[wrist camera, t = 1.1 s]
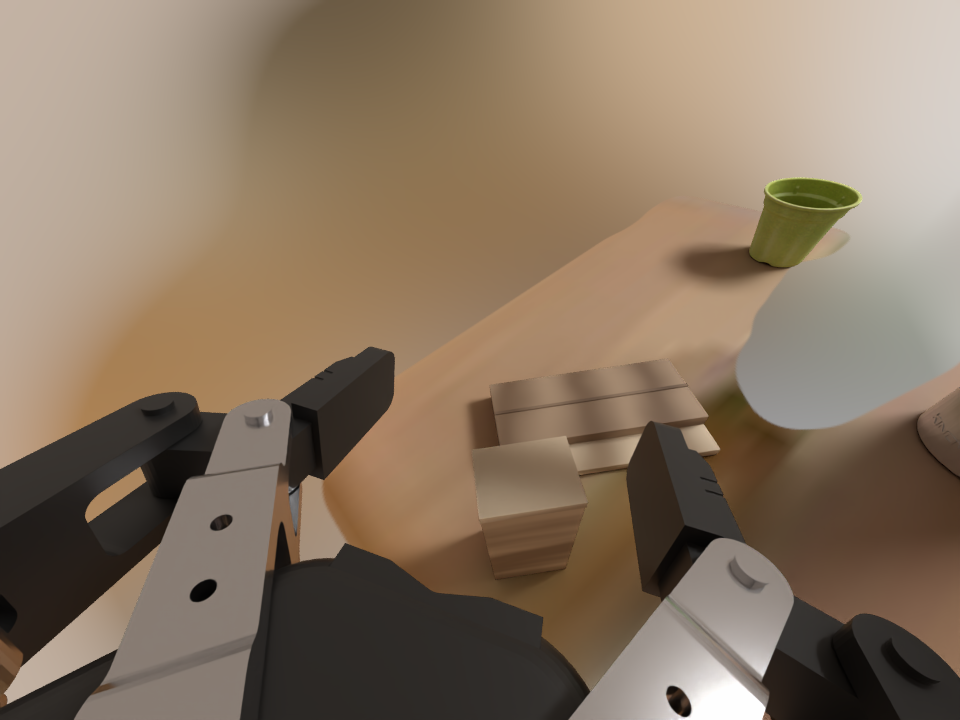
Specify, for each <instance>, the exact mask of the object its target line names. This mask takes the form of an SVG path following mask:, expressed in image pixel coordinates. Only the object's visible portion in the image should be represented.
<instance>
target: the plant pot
mask: <svg viewBox="0 0 960 720" xmlns="http://www.w3.org/2000/svg"><path fill="white" fill-rule="evenodd" d="M764 193H765V195H766V196H765V199H764V208H763V211H762V214H761V217H760V220H759V223H758V226H757V229H756V232H755V235H754V238H753V241H752V244H751V247H750V249H749V253H750V255H751V257H752V258H754V259H755V260H757V261H759V262H766V263H769V264H770V265H771V266H775V267H792V266H795V265H798V264H799V263H800V262H802V261H803V260H804V258H805V257H806V256H807V255H808V254H809V253H810V251H811V250H812V249H813V248H814V247H815V246H816V244H817V243H818V242H819V241H820V240H821V239H822V238H823V236H824V235H825V234H826V233H827V232H828V231H829V230H830V228H831V227H832V226H833V225H834V224H835V223H836V222H837V221H838V219H840V218H842V217H843V216H844V215H845V214H846V213H847V212H848V211H849V210H850V209H852V208H854V207H856V206H858V205H859V204H860V203H861V201H862V196H861V194H860V193H859V192H858V191H857V190H855V189H853V188H852V187H849V186H847V185H844V184H841V183H837V182H833V181H828V180H823V179H814V178H786V179H779V180H776V181H773V182H770V183H769V184H767V185H766V187H765V189H764Z"/></svg>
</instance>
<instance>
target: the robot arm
mask: <svg viewBox="0 0 960 720" xmlns="http://www.w3.org/2000/svg"><path fill="white" fill-rule="evenodd" d="M394 365H395V357H394V354H393V353H392V352H390V351H386V350H382V349H378V348H374V347H368V348H367V349H365V350H364V351H363V352H361V353H360V354H358V355H357V356H355V357H349V358H346V359H343V360H341V361H337V362H335V363H334V364H332V365H331V366H329V367H328V368H326V369H325V370H324V372H323V371H322V372H321V373H319V374H318V375H316V376H315V378H312V379H310V380H309V381H308V382H306V383H305V384H303V385H302V386H300V387H299V388H297V389H296V390H294V391H293V392H291V393H290V394H288V395H287V396H285V397H284V398H283V399H281V400H275V399H260V400H254V401H250V402H247V403H244V404H242V405H240V406H237V407H236V408H234V409H233V410H231V411H230V412H229V413H228V414H227V413H209V412H200V411H199V408H198V404H197V401H196V399H195V398H194V396H192V395H190V394H187V393H181V392H169V393H161V394H156V395H152V396H149V397H145V398H142V399H140V400H138V401H135V402H133V403H131V404H129V405H127V406H125V407H123V408H121V409H119V410H117V411H115V412H113V413H111V414H109V415H107V416H105V417H103V418H101V419H99V420H97V421H95V422H93V423H91V424H90V425H87V426H85V427H83V428H81V429H79V430H77V431H76V432H73V433H71V434H69V435H67V436H65V437H63V438H61V439H59V440H57V441H55V442H53V443H51V444H49V445H47V446H45V447H44V448H41V449H39V450H37V451H35V452H34V453H31V454H30V455H27V456H25V457H23V458H21V459H20V460H18V461H16V462H14V463H12V464H10V465H8V466H6V467H4V468H2V469H0V720H761V719H762V716H763V714H764V711H765V712H766V713H768V714H769V715H770V717H771V720H960V678H959V677H958V675H957V674H956V673H955V672H954V671H953V670H952V669H951V668H950V666H949V665H948V664H947V663H946V662H945V661H944V660H943V659H942V658H941V657H940V656H939V655H937V654H936V653H935V652H934V651H933V650H932V649H931V648H929V647H928V646H927V645H926V644H924V643H923V642H922V641H921V640H919V639H918V638H917V637H915V636H914V635H912V634H911V633H909V632H908V631H906V630H905V629H903V628H901V627H900V626H898V625H896V624H894V623H892V622H890V621H888V620H886V619H884V618H881V617H878V616H875V615H871V614H859V615H856V616H855V617H854V618H852V619H851V620H850V621H849V622H848V623H846V624H843V623H841V622H839V621H838V620H836V619H834V618H832V617H831V616H829V615H827V614H825V613H823V612H822V611H820V610H818V609H816V608H814V607H813V606H811V605H809V604H807V603H806V602H804V601H802V600H800V599H799V598H797V597H795V596H794V595H793V593H792V590H791V588H790V586H789V584H788V582H787V580H786V579H785V577H784V576H783V575H782V573H781V572H780V571H779V570H778V569H777V568H776V567H775V566H774V564H772V563H771V562H770V561H769V560H768V559H767V558H766V557H764V556H763V555H762V554H761V553H759V552H758V551H756V550H755V549H753V548H751V547H749V546H748V545H746V543H745V541H744V538H743V536H742V534H741V532H740V530H739V528H738V525H737V523H736V521H735V519H734V517H733V515H732V512H731V510H730V508H729V506H728V504H727V501H726V499H725V498H723V493H722V491H721V488H720V486H719V485H718V484H717V480H716V477H715V475H714V473H713V471H712V469H711V467H710V465H709V464H708V463H707V462H706V461H705V460H704V459H703V458H702V457H701V455H700V454H699V453H698V452H697V451H695V450H691V449H688V446H687V444H686V441H685V439H684V436H683V434H682V431H681V430H680V429H679V428H677V427H673V426H669V425H666V424H662V423H658V422H654V421H650V422H648V424H647V425H646V427H645V429H644V431H643V433H642V435H641V437H640V440H639V442H638V444H637V446H636V448H635V450H634V453H633V455H632V457H631V459H630V462H629V465H628V469H627V477H626V480H627V488H628V495H629V502H630V509H631V516H632V522H633V529H634V536H635V543H636V550H637V557H638V564H639V571H640V578H641V584H642V591H643V592H646V593H649V594H652V595H655V596H658V597H661V601H662V603H661V604H660V605H659V606H658V608H657V609H656V610H655V611H654V613H653V614H652V615H651V617H650V618H649V619H648V620H647V622H646V623H645V624H644V625H643V627H642V628H641V629H640V630H639V632H638V633H637V634H636V635H635V637H634V638H633V639H632V640H631V642H630V643H629V644H628V645H627V647H626V648H625V649H624V651H623V652H622V653H621V654H620V656H619V657H618V658H617V659H616V661H615V662H614V663H613V664H612V666H611V667H610V668H609V669H608V671H607V672H606V673H605V674H604V676H603V677H602V678H601V679H600V681H599V682H598V683H597V685H596V686H595V687H594V688H593V690H592V691H591V692H590V690H589V689H588V687H587V685H586V684H585V682H584V681H583V679H582V678H581V677H580V675H579V674H578V673H577V671H576V670H575V669H574V667H573V666H572V665H571V664H570V663H569V662H568V660H567V659H566V658H565V657H564V656H563V655H562V654H561V653H560V652H559V651H558V650H557V649H556V648H555V647H554V646H552V645H551V644H550V643H549V642H548V641H546V640H545V639H544V638H542V637H541V635H542V624H543V617H541V616H538V615H535V614H533V613H530V612H527V611H525V610H522V609H519V608H517V607H514V606H511V605H509V604H506V603H503V602H501V601H498V600H495V599H493V598H488V597H477V596H465V595H453V594H441V593H435V592H433V591H431V590H429V589H428V588H427V587H425V586H424V585H423V584H421V583H420V582H419V581H417V580H416V579H415V578H413V577H412V576H411V575H409V574H408V573H407V572H405V571H404V570H403V569H401V568H400V567H399V566H397V565H396V564H395V563H393V562H392V561H391V560H389V559H386V558H383V557H381V556H378V555H375V554H373V553H370V552H367V551H365V550H362V549H359V548H357V547H354V546H351V545H349V544H346V543H345V544H344V546H343V547H342V549H341V550H340V552H339V553H338V554H337V556H336V557H335V558H323V559H312V560H306V561H301V562H300V555H299V543H300V524H301V504H302V502H301V501H302V483H301V482H302V481H303V480H304V479H305V478H306V477H307V476H308V475H311V476H314V477H317V478H320V479H323V480H325V478H326V477H327V476H328V475H329V474H330V473H331V472H332V471H333V470H334V469H335V467H336V466H337V465H338V464H339V463H340V462H341V461H342V460H343V459H344V457H345V456H346V455H347V454H348V453H349V452H350V451H351V450H352V449H353V447H354V446H355V445H356V444H357V443H358V442H359V441H360V440H361V439H362V438H363V436H364V435H365V434H366V433H367V432H368V431H369V430H370V429H371V428H372V426H373V425H374V424H375V423H376V422H377V421H378V420H379V419H380V418H381V416H382V415H383V414H384V413H385V412H386V411H387V410H388V408H389V406H390V404H391V402H392V399H393V395H394ZM917 430H918V433H919V435H920V438H921V440H922V441H923V443H924V444H925V446H926V447H927V449H928V450H929V451H930V452H931V453H932V454H933V455H934V456H935V457H936V458H937V459H938V461H940V462H941V463H942V464H943V465H944V466H946V467H947V468H948V469H949V470H950V471H952V472H953V473H954V474H956V475H957V476H959V477H960V387H959V388H958V389H956V390H955V391H953V392H952V393H951V394H949V395H948V396H946V397H945V398H943V399H942V400H941V401H939V402H938V403H936V404H935V405H934V406H932V407H931V408H929V409H928V410H926V411H925V412H924V413H923V414H921V415H920V417H919V419H918V421H917ZM139 467H141V469H142V471H143V474H144V476H145V478H146V481H147V482H145V483H144V484H142V485H141V486H140V487H138V488H137V489H135V490H134V491H132V492H131V493H130V494H128V495H127V496H125V497H124V498H123V499H121V500H120V501H118V502H117V503H116V504H114V505H113V506H111V507H110V508H108V509H107V510H106V511H104V512H103V513H102V514H100V515H99V516H97V517H96V518H94V519H93V520H92V521H90V522H89V523H87V521H86V519H85V512H86V509H87V507H88V505H89V504H90V502H91V501H92V500H93V499H94V498H95V497H96V496H97V495H98V494H99V493H101V492H102V491H104V490H105V489H107V488H108V487H110V486H111V485H113V484H114V483H116V482H117V481H119V480H120V479H122V478H123V477H125V476H126V475H128V474H130V473H131V472H132V471H134V470H135V469H137V468H139ZM160 543H161V544H160ZM159 544H160V546H159V549H158V551H157V554H156V556H155V559H154V561H153V564H152V566H151V569H150V571H149V574H148V576H147V579H146V581H145V584H144V586H143V589H142V591H141V594H140V596H139V598H138V601H137V603H136V606H135V608H134V611H133V613H132V616H131V618H130V621H129V623H128V626H127V628H126V631H125V633H124V636H123V638H122V641H121V643H120V646H119V648H118V649H117V650H115V651H113V652H111V653H109V654H107V655H105V656H103V657H101V658H99V659H97V660H95V661H93V662H91V663H89V664H87V665H85V666H83V667H81V668H79V669H77V670H75V671H73V672H71V673H69V674H67V675H65V676H63V677H61V678H59V679H57V680H55V681H53V682H51V683H49V684H47V685H45V686H43V687H41V688H39V689H37V690H35V691H33V692H31V693H29V694H27V695H25V696H23V697H21V698H19V699H17V700H15V701H13V702H11V703H9V704H7V696H6V695H5V694H4V692H5V691H6V690H7V689H8V687H9V686H10V685H11V683H12V682H13V680H14V679H15V677H16V675H17V673H18V671H19V669H20V667H22V666H23V665H24V664H25V663H26V662H27V661H28V660H30V659H31V658H32V657H33V656H34V655H35V654H36V653H37V652H38V651H40V650H41V649H42V648H43V647H44V646H45V645H46V644H47V643H49V642H50V641H51V640H52V639H53V638H54V637H55V636H57V635H58V633H60V632H61V631H62V630H63V629H64V628H65V627H66V626H68V625H69V624H70V623H71V622H72V621H73V620H75V619H76V618H77V617H78V616H79V615H80V614H81V613H82V612H83V611H85V610H86V609H87V608H88V607H89V606H90V605H91V604H92V603H94V601H96V600H97V599H98V598H99V597H100V596H102V595H103V594H104V593H105V592H106V591H107V590H108V589H109V588H110V587H112V586H113V585H114V584H115V583H116V582H117V581H118V580H120V579H121V578H122V577H123V576H124V575H125V574H126V573H127V572H128V571H130V570H131V569H132V568H133V567H134V566H135V565H136V564H138V562H140V561H141V560H142V559H143V558H144V557H145V556H147V555H148V554H149V553H150V552H151V551H152V550H153V549H154V548H155V547H157V546H158V545H159Z"/></svg>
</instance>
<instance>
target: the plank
mask: <svg viewBox="0 0 960 720" xmlns="http://www.w3.org/2000/svg"><path fill="white" fill-rule="evenodd" d="M472 458H473V468H474V477H475V486H476V495H477V505H478V514H479V521H480V524H481V526H482V530H483V533H484V537H485V541H486V545H487V549H488V553H489V557H490V560H491V564H492V568H493V572H494V576H495V580H496V579H502V578H509V577H515V576H522V575H528V574H535V573H541V572H547V571H554V570H560V569H565V568H566V565H567V562H568V559H569V556H570V553H571V550H572V547H573V544H574V541H575V538H576V535H577V532H578V529H579V526H580V522H581V519H582V516H583V513H584V510H585V508H586V507H587V505H588V501H587V498H586V495H585V492H584V489H583V486H582V483H581V480H580V477H579V474H578V471H577V468H576V465H575V462H574V459H573V455H572V452H571V449H570V446H569V443H568V440H567V437H566V436H561V437H554V438H548V439H541V440H534V441H528V442H521V443H514V444H508V445H501V446H494V447H488V448H481V449H474V450H472Z"/></svg>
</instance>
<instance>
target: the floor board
mask: <svg viewBox="0 0 960 720" xmlns="http://www.w3.org/2000/svg"><path fill="white" fill-rule="evenodd" d="M490 393H491V400H492V406H493V412H494V418H495V424H496V429H497V435H498V441H499V446H501V445H508V444H514V443H521V442H528V441H534V440H541V439H548V438H554V437H561V436H566V437H567V440H568V443H569V446H570V449H571V452H572V455H573V459H574V462H575V465H576V468H577V471H578V474H579V475H583V474H590V473H596V472H603V471H610V470H616V469H623V468H628V465H629V462H630V459H631V457H632V455H633V453H634V450H635V448H636V446H637V444H638V442H639V440H640V437H641V435H642V433H643V431H644V429H645V427H646V425H647V424H648V422H650V421H654V422H658V423H662V424H666V425H669V426H673V427H677V428H679V429H680V430H681V431H682V434H683V436H684V439H685V441H686V444H687V446H688V449H691V450H695V451H697V452H698V453H699V454H700V455H701V457H702V456H708V455H715V454H717V453H718V452H719V451H720V448H719V446H718V445H717V443H716V442H715V440H714V439H713V438H712V436H711V435H710V433H709V432H708V430H707V429H706V427H705V426H704V423H705V421H706V420H707V418H708V417H709V416H708V415H707V413H706V412H705V410H704V409H703V407H702V406H701V404H700V403H699V402H698V400H697V399H696V397H695V396H694V394H693V393H692V392H691V390H690V389H689V387H688V385H687V383H685V382H684V380H683V379H682V377H681V376H680V374H679V373H678V371H677V370H676V369H675V367H674V366H673V364H672V363H671V361H670V360H669V359H661V360H655V361H648V362H641V363H634V364H628V365H621V366H614V367H607V368H601V369H594V370H587V371H580V372H574V373H567V374H560V375H553V376H547V377H540V378H533V379H526V380H520V381H513V382H506V383H499V384H493V385H490Z"/></svg>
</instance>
